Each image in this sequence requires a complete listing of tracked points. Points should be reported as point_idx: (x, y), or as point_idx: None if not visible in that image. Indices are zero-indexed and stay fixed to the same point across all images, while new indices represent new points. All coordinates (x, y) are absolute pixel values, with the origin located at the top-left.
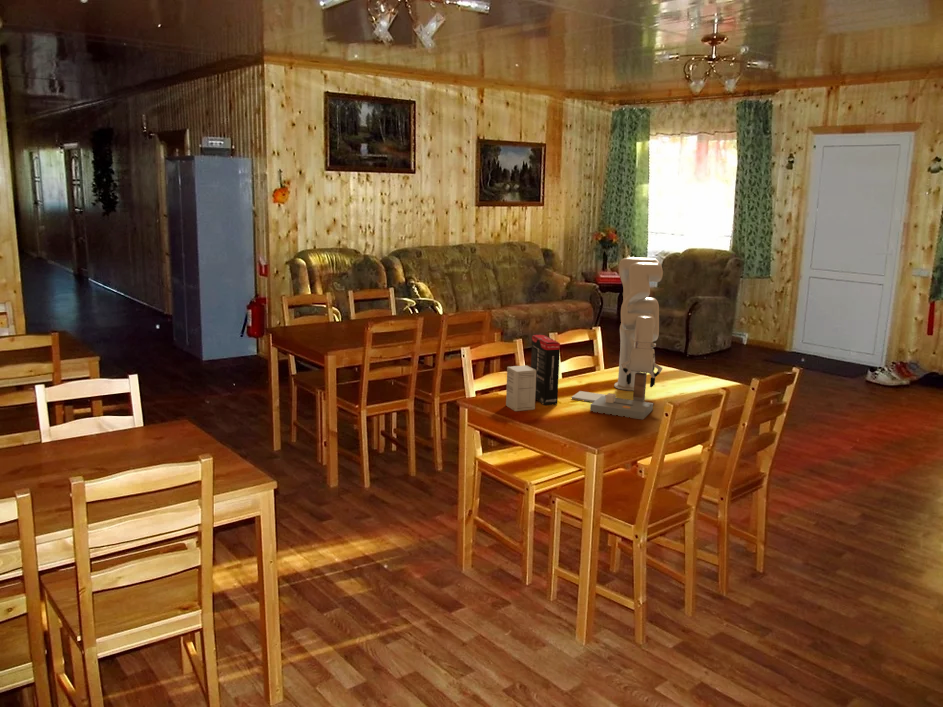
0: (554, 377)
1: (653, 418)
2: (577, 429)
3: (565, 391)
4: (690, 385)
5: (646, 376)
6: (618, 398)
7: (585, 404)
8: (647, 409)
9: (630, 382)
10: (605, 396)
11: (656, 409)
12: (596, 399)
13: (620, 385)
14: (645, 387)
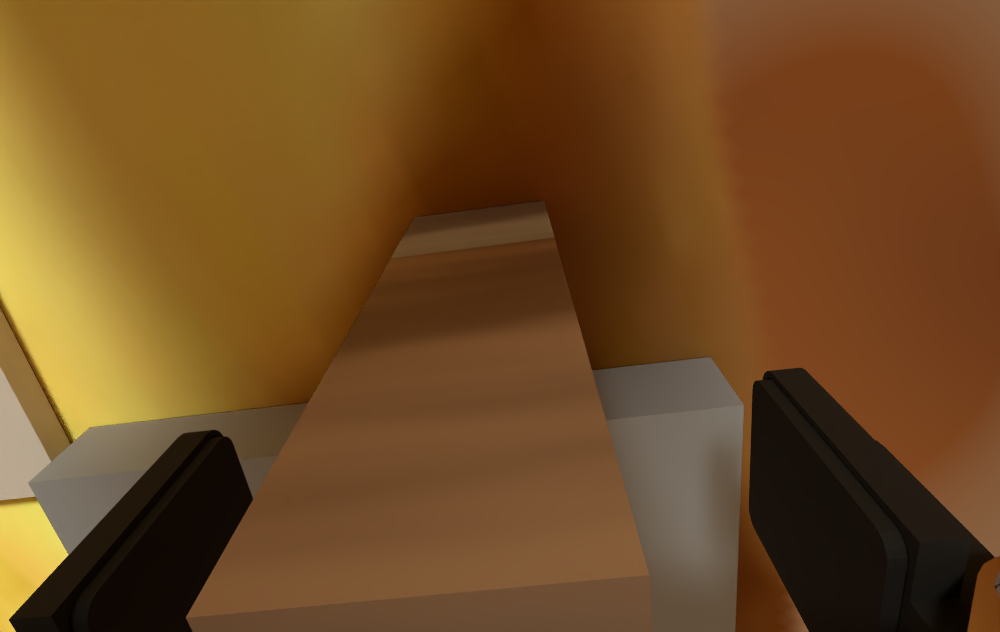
0: None
1: (785, 600)
2: None
3: None
4: None
5: (617, 463)
6: (260, 470)
7: (40, 574)
8: (731, 625)
9: (231, 474)
10: (82, 486)
11: (747, 295)
12: (7, 451)
13: None
14: (571, 306)
